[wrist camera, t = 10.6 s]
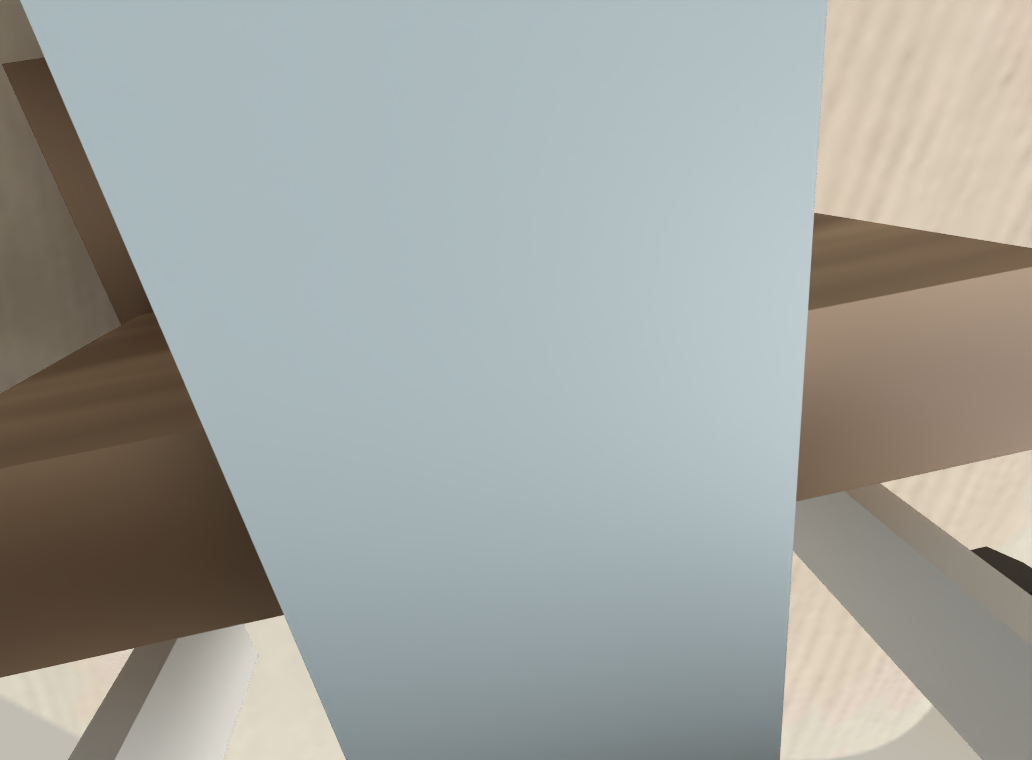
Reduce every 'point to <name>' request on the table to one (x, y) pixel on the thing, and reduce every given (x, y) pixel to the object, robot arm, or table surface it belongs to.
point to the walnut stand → (214, 513)
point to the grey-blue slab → (486, 341)
